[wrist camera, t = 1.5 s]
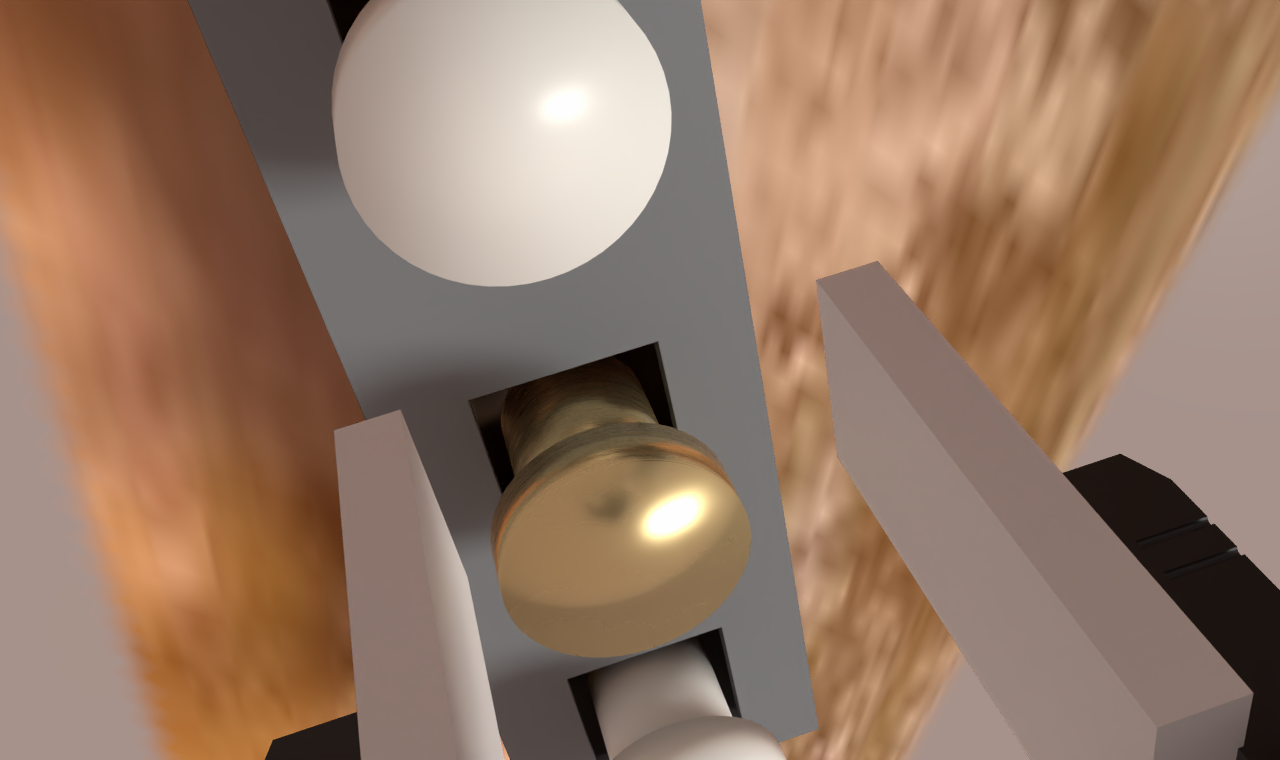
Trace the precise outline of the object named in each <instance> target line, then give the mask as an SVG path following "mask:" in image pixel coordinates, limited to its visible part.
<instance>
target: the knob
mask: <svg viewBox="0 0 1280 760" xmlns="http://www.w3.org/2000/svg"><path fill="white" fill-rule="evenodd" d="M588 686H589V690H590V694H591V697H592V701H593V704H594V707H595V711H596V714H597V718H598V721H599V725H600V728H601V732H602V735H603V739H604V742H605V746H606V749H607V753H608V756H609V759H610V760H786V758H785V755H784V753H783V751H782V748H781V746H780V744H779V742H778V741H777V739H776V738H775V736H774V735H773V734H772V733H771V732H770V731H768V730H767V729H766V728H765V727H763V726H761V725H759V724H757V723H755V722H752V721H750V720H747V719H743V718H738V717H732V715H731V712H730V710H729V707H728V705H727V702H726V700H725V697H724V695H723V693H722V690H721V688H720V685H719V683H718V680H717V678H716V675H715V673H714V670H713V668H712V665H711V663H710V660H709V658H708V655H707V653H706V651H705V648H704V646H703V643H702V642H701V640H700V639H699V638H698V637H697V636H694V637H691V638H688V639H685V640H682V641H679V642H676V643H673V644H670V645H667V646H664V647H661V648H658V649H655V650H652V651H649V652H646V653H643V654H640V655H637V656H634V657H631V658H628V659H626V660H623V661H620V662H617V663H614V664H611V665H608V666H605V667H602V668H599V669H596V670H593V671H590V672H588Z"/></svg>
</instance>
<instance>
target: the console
mask: <svg viewBox="0 0 1280 760" xmlns="http://www.w3.org/2000/svg"><path fill="white" fill-rule="evenodd" d="M618 1H619V2H620V4H621V5H622V6H623V7H624V9H625V10H626V11H627V12H628V14H629V15H630V16H631V17H632V19H633V20H634V21H635V22H636V24H637V25H638V26H639V27H640V29H641V30H642V31H643V33H644V34H645V35H646V37H647V38H648V40H649V42H650V44H651V45H652V47H653V49H654V50H655V52H656V54H657V56H658V59H659V61H660V64H661V66H662V69H663V71H664V74H665V78H666V82H667V86H668V90H669V95H670V104H671V112H672V114H671V137H670V144H669V150H668V155H667V158H666V162H665V165H664V169H663V172H662V175H661V177H660V179H659V182H658V184H657V186H656V189H655V191H654V193H653V194H652V196H651V198H650V200H649V201H648V203H647V205H646V206H645V208H644V209H643V211H642V212H641V213H640V215H639V216H638V217H637V219H636V220H635V221H634V223H633V224H632V225H631V226H630V227H629V228H628V229H627V230H626V231H625V232H624V233H623V235H622V236H621V237H620V238H619V239H618V240H616V241H615V242H614V243H613V244H612V245H610V246H609V247H608V248H607V249H605V250H604V251H603V252H602V253H600V254H599V255H597V256H595V257H594V258H592V259H591V260H589V261H588V262H586V263H584V264H582V265H580V266H578V267H576V268H574V269H572V270H570V271H568V272H566V273H563V274H561V275H558V276H555V277H552V278H550V279H546V280H542V281H538V282H534V283H530V284H523V285H515V286H490V287H488V286H478V285H469V284H464V283H460V282H455V281H451V280H447V279H444V278H441V277H439V276H436V275H433V274H430V273H428V272H426V271H424V270H422V269H420V268H418V267H416V266H414V265H412V264H410V263H409V262H407V261H406V260H404V259H403V258H402V257H400V256H399V255H397V254H396V253H394V252H393V251H392V250H391V249H390V248H388V247H387V246H386V245H385V244H384V243H383V242H382V241H381V240H379V239H378V237H377V236H376V235H375V234H374V233H373V232H372V230H371V229H370V228H369V227H368V226H367V225H366V223H365V222H364V221H363V219H362V217H361V216H360V214H359V213H358V211H357V210H356V208H355V207H354V205H353V203H352V200H351V198H350V196H349V194H348V192H347V190H346V188H345V185H344V181H343V178H342V175H341V171H340V168H339V163H338V156H337V150H336V143H335V135H334V127H333V119H332V85H333V77H334V70H335V67H336V63H337V60H338V56H339V52H340V49H341V47H342V45H343V43H344V42H343V39H342V37H341V34H340V31H339V28H338V25H337V22H336V20H335V17H334V14H333V11H332V8H331V5H330V3H329V0H188V3H189V5H190V7H191V10H192V12H193V14H194V17H195V19H196V21H197V24H198V26H199V28H200V31H201V33H202V36H203V38H204V40H205V43H206V45H207V47H208V50H209V52H210V54H211V57H212V59H213V61H214V64H215V66H216V68H217V71H218V73H219V76H220V78H221V80H222V83H223V85H224V87H225V90H226V92H227V94H228V97H229V99H230V101H231V104H232V106H233V108H234V111H235V113H236V116H237V118H238V120H239V123H240V125H241V127H242V130H243V132H244V134H245V137H246V139H247V141H248V144H249V146H250V148H251V151H252V153H253V156H254V158H255V160H256V163H257V165H258V167H259V170H260V172H261V174H262V177H263V179H264V181H265V184H266V186H267V188H268V191H269V193H270V196H271V198H272V200H273V203H274V205H275V207H276V210H277V212H278V214H279V217H280V219H281V221H282V224H283V226H284V228H285V231H286V233H287V236H288V238H289V240H290V243H291V245H292V247H293V250H294V252H295V254H296V257H297V259H298V261H299V264H300V266H301V268H302V271H303V273H304V276H305V278H306V280H307V283H308V285H309V287H310V290H311V292H312V294H313V297H314V299H315V301H316V304H317V306H318V308H319V311H320V313H321V316H322V318H323V320H324V323H325V325H326V327H327V330H328V332H329V334H330V337H331V339H332V341H333V344H334V346H335V348H336V351H337V353H338V356H339V358H340V360H341V363H342V365H343V367H344V370H345V372H346V374H347V377H348V379H349V381H350V384H351V386H352V388H353V391H354V393H355V396H356V398H357V400H358V403H359V405H360V407H361V410H362V412H363V414H364V417H365V419H366V420H368V419H372V418H375V417H378V416H381V415H385V414H388V413H391V412H394V411H397V410H401V412H402V414H403V417H404V419H405V422H406V424H407V427H408V429H409V432H410V434H411V437H412V439H413V442H414V444H415V447H416V449H417V452H418V454H419V457H420V459H421V462H422V464H423V467H424V469H425V472H426V474H427V477H428V480H429V482H430V485H431V487H432V490H433V492H434V495H435V497H436V500H437V502H438V505H439V507H440V510H441V512H442V515H443V517H444V520H445V522H446V525H447V527H448V530H449V532H450V535H451V537H452V540H453V542H454V545H455V547H456V550H457V552H458V555H459V557H460V560H461V562H462V565H463V567H464V570H465V572H466V575H467V577H468V581H469V586H470V591H471V596H472V601H473V606H474V611H475V616H476V621H477V626H478V631H479V636H480V641H481V646H482V651H483V656H484V661H485V666H486V671H487V676H488V681H489V686H490V691H491V696H492V701H493V706H494V711H495V716H496V721H497V725H498V730H499V734H500V737H501V739H502V741H503V744H504V746H505V748H506V751H507V753H508V756H509V758H510V760H610V759H609V756H608V753H607V749H606V746H605V742H604V739H603V735H602V732H601V728H600V725H599V721H598V718H597V714H596V711H595V707H594V704H593V701H592V697H591V694H590V690H589V686H588V672H590V671H593V670H596V669H599V668H602V667H605V666H608V665H611V664H614V663H617V662H620V661H623V660H626V659H628V658H631V657H634V656H637V655H640V654H643V653H646V652H649V651H652V650H655V649H658V648H661V647H664V646H667V645H670V644H673V643H676V642H679V641H682V640H685V639H688V638H691V637H694V636H697V637H698V638H699V639H700V640H701V642H702V643H703V646H704V648H705V651H706V653H707V655H708V658H709V660H710V663H711V665H712V668H713V670H714V673H715V675H716V678H717V680H718V683H719V685H720V688H721V690H722V693H723V695H724V697H725V700H726V702H727V705H728V707H729V710H730V712H731V715H732V717H738V718H743V719H747V720H750V721H752V722H755V723H757V724H759V725H761V726H763V727H765V728H766V729H767V730H768V731H770V732H771V733H772V734H773V735H774V736H775V738H776V739H777V741H778V742H782V741H785V740H788V739H791V738H794V737H796V736H799V735H802V734H805V733H808V732H811V731H814V730H817V729H819V728H818V722H817V716H816V710H815V703H814V697H813V691H812V685H811V679H810V673H809V666H808V660H807V654H806V648H805V642H804V636H803V629H802V623H801V617H800V611H799V605H798V599H797V592H796V586H795V580H794V574H793V568H792V561H791V555H790V549H789V543H788V537H787V531H786V524H785V518H784V512H783V506H782V500H781V494H780V487H779V481H778V475H777V469H776V463H775V457H774V450H773V444H772V438H771V432H770V426H769V420H768V413H767V407H766V401H765V395H764V389H763V383H762V376H761V370H760V364H759V358H758V352H757V345H756V339H755V333H754V327H753V321H752V315H751V308H750V302H749V296H748V290H747V284H746V278H745V271H744V265H743V259H742V253H741V247H740V241H739V234H738V228H737V222H736V216H735V210H734V204H733V197H732V191H731V185H730V179H729V173H728V167H727V160H726V154H725V148H724V142H723V136H722V129H721V123H720V117H719V111H718V105H717V99H716V92H715V86H714V80H713V74H712V68H711V62H710V55H709V49H708V43H707V37H706V31H705V25H704V18H703V12H702V6H701V0H618ZM651 343H654V345H655V349H656V354H657V358H658V363H659V367H660V372H661V376H662V380H663V385H664V389H665V394H666V398H667V403H668V407H669V411H670V416H671V420H672V425H673V428H675V429H678V430H681V431H683V432H685V433H688V434H690V435H692V436H694V437H695V438H697V439H698V440H700V441H701V442H702V443H704V444H705V445H706V446H707V447H708V448H709V449H710V450H712V451H713V452H714V453H715V455H716V456H717V458H718V459H719V460H720V462H721V463H722V465H723V467H724V469H725V471H726V473H727V475H728V477H729V479H730V481H731V483H732V485H733V487H734V489H735V491H736V493H737V495H738V497H739V499H740V501H741V503H742V505H743V507H744V509H745V511H746V513H747V516H748V519H749V523H750V530H751V547H750V553H749V557H748V561H747V564H746V567H745V569H744V572H743V574H742V576H741V578H740V580H739V581H738V583H737V585H736V587H735V588H734V589H733V591H732V592H731V594H730V595H729V596H728V598H727V599H726V600H725V601H724V602H723V603H722V604H721V605H720V607H719V608H718V609H717V610H715V611H714V612H713V613H712V614H711V615H710V616H709V617H708V618H707V619H705V620H704V621H703V622H701V623H700V624H698V625H697V626H696V627H694V628H693V629H691V630H690V631H688V632H686V633H685V634H683V635H681V636H679V637H677V638H675V639H673V640H671V641H669V642H667V643H665V644H662V645H659V646H657V647H654V648H652V649H648V650H645V651H641V652H638V653H633V654H628V655H623V656H615V657H581V656H574V655H569V654H564V653H561V652H558V651H555V650H552V649H549V648H547V647H545V646H543V645H541V644H539V643H537V642H535V641H534V640H532V639H531V638H530V637H528V636H527V635H526V634H524V633H523V632H522V631H521V630H520V629H519V628H518V627H517V626H516V624H515V623H514V621H513V620H512V619H511V617H510V616H509V614H508V612H507V610H506V608H505V605H504V602H503V598H502V595H501V590H500V586H499V582H498V577H497V573H496V569H495V564H494V560H493V556H492V551H491V542H490V534H491V524H492V520H493V516H494V512H495V510H496V507H497V505H498V502H499V500H500V498H501V496H502V495H503V493H502V490H501V488H500V485H499V482H498V479H497V476H496V473H495V470H494V468H493V465H492V462H491V459H490V456H489V453H488V451H487V448H486V445H485V442H484V439H483V436H482V434H481V431H480V428H479V425H478V422H477V419H476V417H475V414H474V411H473V408H472V405H471V402H470V400H471V399H474V398H478V397H481V396H484V395H487V394H491V393H494V392H497V391H500V390H503V389H507V388H510V387H513V386H516V385H519V384H523V383H526V382H529V381H532V380H535V379H539V378H542V377H545V376H548V375H551V374H555V373H558V372H561V371H564V370H567V369H571V368H574V367H577V366H580V365H583V364H587V363H590V362H593V361H596V360H599V359H603V358H606V357H609V356H612V355H615V354H619V353H622V352H625V351H628V350H631V349H635V348H638V347H641V346H644V345H647V344H651Z"/></svg>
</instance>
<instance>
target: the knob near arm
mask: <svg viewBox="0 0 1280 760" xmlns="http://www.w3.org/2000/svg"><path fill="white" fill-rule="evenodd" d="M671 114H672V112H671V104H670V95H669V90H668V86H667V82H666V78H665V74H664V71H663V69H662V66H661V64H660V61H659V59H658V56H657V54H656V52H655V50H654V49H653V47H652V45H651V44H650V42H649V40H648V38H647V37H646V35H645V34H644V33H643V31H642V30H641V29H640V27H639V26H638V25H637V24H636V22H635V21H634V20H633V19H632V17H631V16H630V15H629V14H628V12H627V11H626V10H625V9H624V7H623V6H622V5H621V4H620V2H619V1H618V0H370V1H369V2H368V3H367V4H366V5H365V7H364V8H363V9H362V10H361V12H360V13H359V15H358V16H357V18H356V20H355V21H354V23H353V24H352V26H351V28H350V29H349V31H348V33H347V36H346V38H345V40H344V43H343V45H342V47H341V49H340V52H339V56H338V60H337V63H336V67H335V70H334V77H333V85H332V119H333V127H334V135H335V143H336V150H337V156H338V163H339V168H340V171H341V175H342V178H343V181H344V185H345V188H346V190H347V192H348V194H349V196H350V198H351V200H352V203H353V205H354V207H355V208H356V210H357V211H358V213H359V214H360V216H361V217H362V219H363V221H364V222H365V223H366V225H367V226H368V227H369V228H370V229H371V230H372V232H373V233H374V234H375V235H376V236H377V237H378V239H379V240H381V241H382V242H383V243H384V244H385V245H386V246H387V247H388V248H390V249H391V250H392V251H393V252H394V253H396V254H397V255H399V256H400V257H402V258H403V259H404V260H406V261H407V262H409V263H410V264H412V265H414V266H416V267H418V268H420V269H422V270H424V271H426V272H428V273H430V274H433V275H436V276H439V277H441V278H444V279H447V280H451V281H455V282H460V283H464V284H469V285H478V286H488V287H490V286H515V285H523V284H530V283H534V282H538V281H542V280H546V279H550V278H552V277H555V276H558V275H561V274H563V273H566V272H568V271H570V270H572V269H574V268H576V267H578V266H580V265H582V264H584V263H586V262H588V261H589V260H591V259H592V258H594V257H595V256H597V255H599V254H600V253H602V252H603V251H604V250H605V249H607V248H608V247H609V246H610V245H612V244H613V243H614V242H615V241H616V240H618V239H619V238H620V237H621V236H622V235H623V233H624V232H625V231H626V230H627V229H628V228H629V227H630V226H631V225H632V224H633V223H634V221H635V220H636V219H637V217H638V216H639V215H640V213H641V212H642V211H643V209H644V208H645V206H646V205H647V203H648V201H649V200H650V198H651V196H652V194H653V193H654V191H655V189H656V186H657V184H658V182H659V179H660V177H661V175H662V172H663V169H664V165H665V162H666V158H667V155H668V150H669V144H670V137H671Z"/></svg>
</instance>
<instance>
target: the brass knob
mask: <svg viewBox="0 0 1280 760" xmlns="http://www.w3.org/2000/svg"><path fill="white" fill-rule="evenodd" d="M501 428H502V432H503V436H504V440H505V444H506V447H507V451H508V454H509V458H510V462H511V465H512V469H513V473H514V476H515V477H514V479H513V480H512V481H511V482H510V484H509V485H508V486H507V488H506V490H505V491H504V493H503V495H502V496H501V498H500V500H499V502H498V505H497V507H496V510H495V512H494V516H493V520H492V524H491V534H490V542H491V551H492V556H493V560H494V564H495V569H496V573H497V577H498V582H499V586H500V590H501V595H502V598H503V602H504V605H505V608H506V610H507V612H508V614H509V616H510V617H511V619H512V620H513V621H514V623H515V624H516V626H517V627H518V628H519V629H520V630H521V631H522V632H523V633H524V634H526V635H527V636H528V637H530V638H531V639H532V640H534V641H535V642H537V643H539V644H541V645H543V646H545V647H547V648H549V649H552V650H555V651H558V652H561V653H564V654H569V655H574V656H581V657H615V656H623V655H628V654H633V653H638V652H641V651H645V650H648V649H652V648H654V647H657V646H659V645H662V644H665V643H667V642H669V641H671V640H673V639H675V638H677V637H679V636H681V635H683V634H685V633H686V632H688V631H690V630H691V629H693V628H694V627H696V626H697V625H698V624H700V623H701V622H703V621H704V620H705V619H707V618H708V617H709V616H710V615H711V614H712V613H713V612H714V611H715V610H717V609H718V608H719V607H720V605H721V604H722V603H723V602H724V601H725V600H726V599H727V598H728V596H729V595H730V594H731V592H732V591H733V589H734V588H735V587H736V585H737V583H738V581H739V580H740V578H741V576H742V574H743V572H744V569H745V567H746V564H747V561H748V557H749V553H750V547H751V530H750V523H749V519H748V516H747V513H746V511H745V509H744V507H743V505H742V503H741V501H740V499H739V497H738V495H737V493H736V491H735V489H734V487H733V485H732V483H731V481H730V479H729V477H728V475H727V473H726V471H725V469H724V467H723V465H722V463H721V462H720V460H719V459H718V458H717V456H716V455H715V453H714V452H713V451H712V450H710V449H709V448H708V447H707V446H706V445H705V444H704V443H702V442H701V441H700V440H698V439H697V438H695V437H694V436H692V435H690V434H688V433H685V432H683V431H681V430H678V429H675V428H672V427H669V426H665V425H660V424H659V423H658V421H657V419H656V417H655V414H654V412H653V410H652V408H651V406H650V403H649V401H648V399H647V397H646V395H645V393H644V390H643V388H642V386H641V384H640V382H639V380H638V378H637V376H636V375H635V374H634V372H633V371H632V370H631V369H630V368H629V367H628V366H627V365H626V364H624V363H623V362H622V361H620V360H618V359H616V358H614V357H613V356H609V357H606V358H603V359H599V360H596V361H593V362H590V363H587V364H583V365H580V366H577V367H574V368H571V369H567V370H564V371H561V372H558V373H555V374H551V375H548V376H545V377H542V378H539V379H535V380H532V381H529V382H526V383H523V384H519V385H516V386H513V387H511V388H510V390H509V392H508V394H507V395H506V398H505V400H504V403H503V406H502V411H501Z"/></svg>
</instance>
